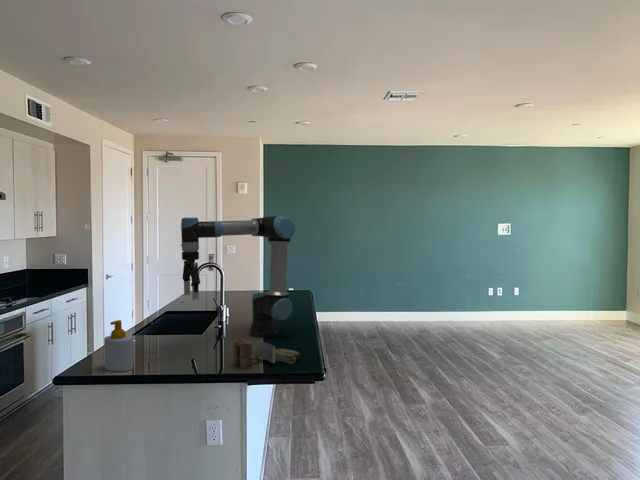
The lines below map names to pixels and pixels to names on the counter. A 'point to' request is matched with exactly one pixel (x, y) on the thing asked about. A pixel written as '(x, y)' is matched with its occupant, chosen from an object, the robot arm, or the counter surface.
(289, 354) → the mushroom
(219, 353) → the counter surface
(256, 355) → the telltale
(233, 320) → the counter surface
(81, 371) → the counter surface
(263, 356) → the plate
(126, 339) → the soap bottle
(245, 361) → the base
